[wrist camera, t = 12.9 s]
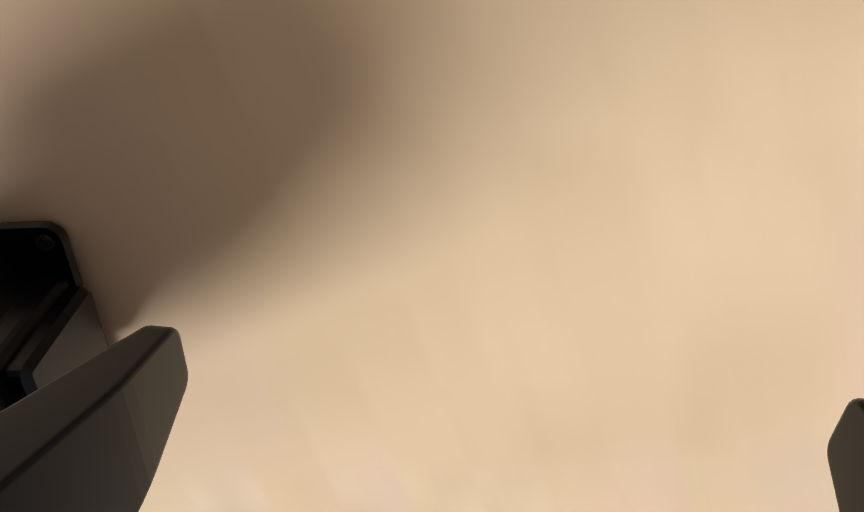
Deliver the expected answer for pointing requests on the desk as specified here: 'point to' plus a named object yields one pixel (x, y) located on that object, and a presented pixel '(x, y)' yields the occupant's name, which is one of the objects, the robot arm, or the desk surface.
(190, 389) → the desk surface
